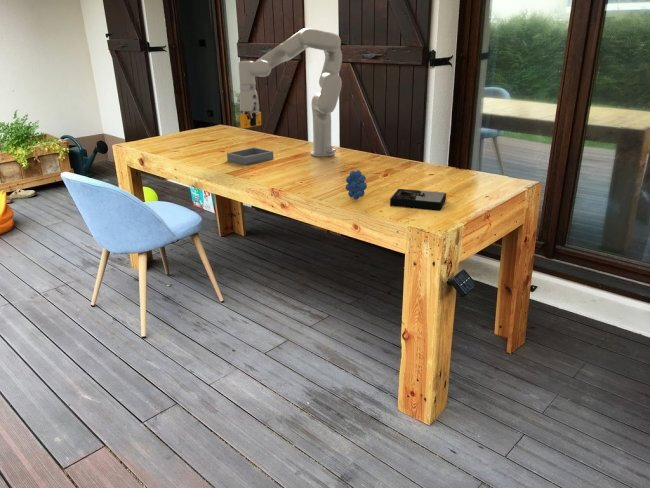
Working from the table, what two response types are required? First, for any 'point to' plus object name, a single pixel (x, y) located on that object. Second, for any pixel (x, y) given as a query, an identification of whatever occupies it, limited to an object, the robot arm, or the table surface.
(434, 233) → the table surface
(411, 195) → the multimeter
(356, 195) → the grapes
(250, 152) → the tray
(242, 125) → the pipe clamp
